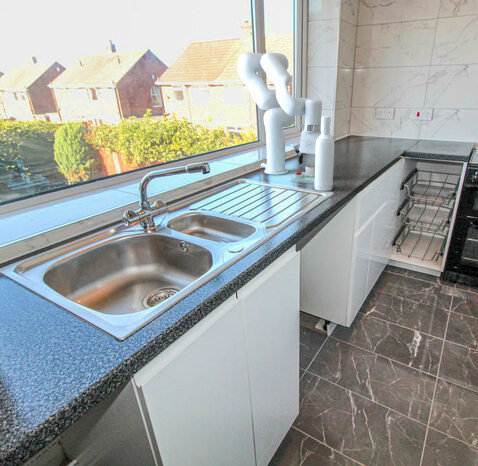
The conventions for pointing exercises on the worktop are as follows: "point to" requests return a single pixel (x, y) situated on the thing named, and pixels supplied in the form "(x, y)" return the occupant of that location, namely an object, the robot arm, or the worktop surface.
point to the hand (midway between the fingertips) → (310, 165)
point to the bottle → (324, 157)
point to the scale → (303, 178)
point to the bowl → (310, 170)
